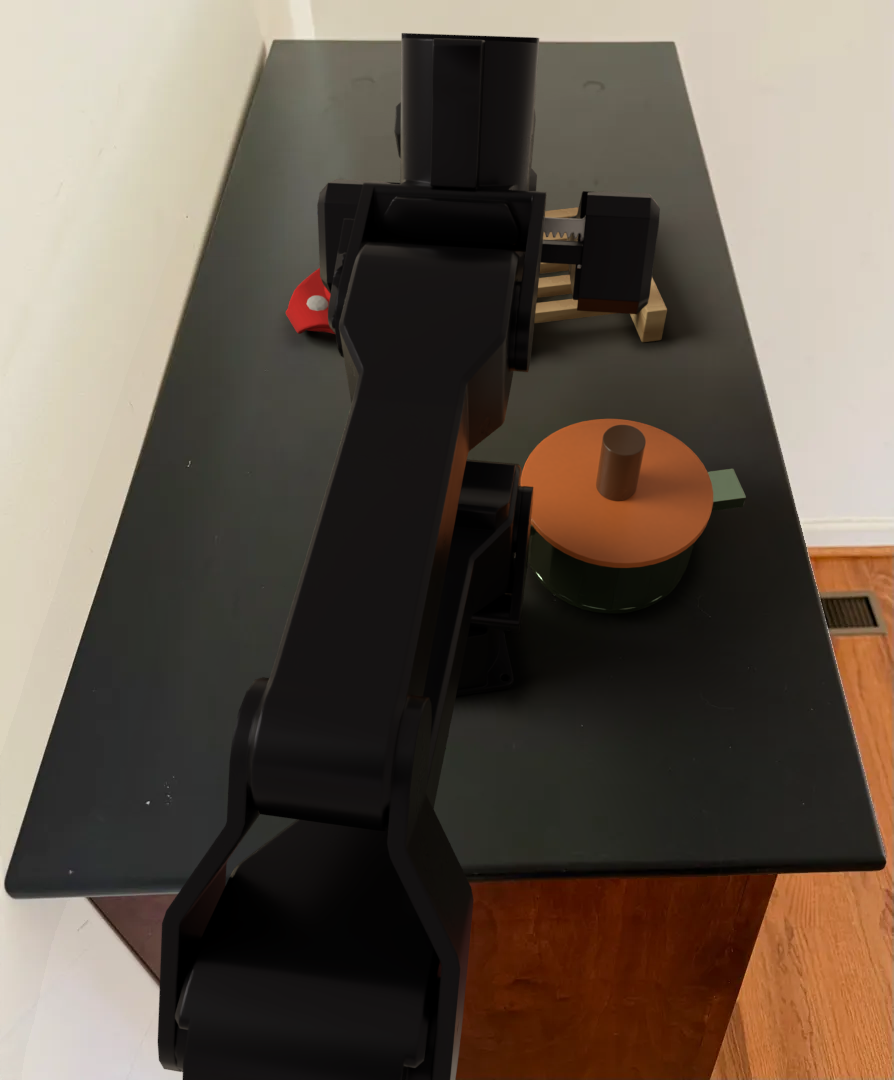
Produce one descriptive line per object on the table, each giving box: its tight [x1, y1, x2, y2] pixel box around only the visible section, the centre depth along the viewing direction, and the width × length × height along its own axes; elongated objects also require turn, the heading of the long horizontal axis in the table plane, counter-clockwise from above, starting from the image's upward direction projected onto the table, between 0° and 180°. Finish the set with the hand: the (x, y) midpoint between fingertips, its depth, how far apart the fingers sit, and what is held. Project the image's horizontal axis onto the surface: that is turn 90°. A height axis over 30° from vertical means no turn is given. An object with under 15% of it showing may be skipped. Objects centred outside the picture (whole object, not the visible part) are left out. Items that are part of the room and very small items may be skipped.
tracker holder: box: [285, 267, 336, 335], centre depth 74 cm, size 12×4×10 cm
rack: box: [534, 206, 668, 343], centre depth 74 cm, size 16×13×3 cm
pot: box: [528, 468, 747, 615], centre depth 57 cm, size 10×16×6 cm, turn 98°
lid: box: [519, 418, 713, 568], centre depth 53 cm, size 11×11×5 cm
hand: (499, 223), depth 58 cm, fingers open, 9 cm apart
